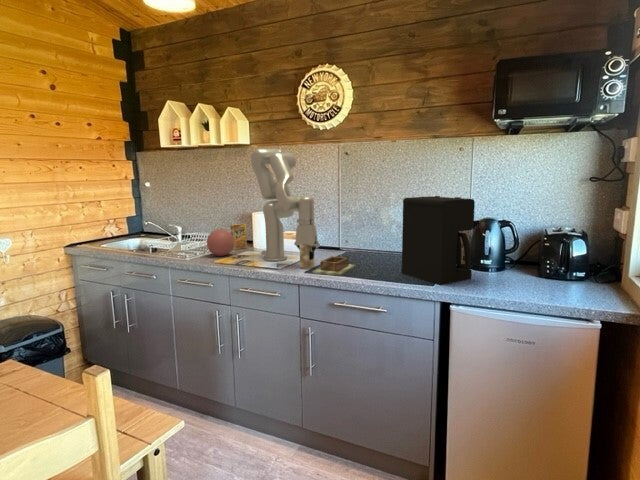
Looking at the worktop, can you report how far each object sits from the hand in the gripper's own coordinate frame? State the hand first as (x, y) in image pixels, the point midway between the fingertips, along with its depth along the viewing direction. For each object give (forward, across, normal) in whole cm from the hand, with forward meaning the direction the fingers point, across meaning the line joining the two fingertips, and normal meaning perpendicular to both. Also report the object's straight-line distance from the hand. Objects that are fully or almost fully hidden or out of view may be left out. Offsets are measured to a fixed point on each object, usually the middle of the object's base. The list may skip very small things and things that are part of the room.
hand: (307, 258), depth 205 cm
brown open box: (+4, +15, 0) cm, 16 cm away
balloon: (+4, -59, +8) cm, 60 cm away
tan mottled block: (+4, 0, 0) cm, 4 cm away
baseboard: (+5, -100, +15) cm, 101 cm away
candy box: (+4, -63, +28) cm, 69 cm away
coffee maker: (+5, +63, +6) cm, 63 cm away
